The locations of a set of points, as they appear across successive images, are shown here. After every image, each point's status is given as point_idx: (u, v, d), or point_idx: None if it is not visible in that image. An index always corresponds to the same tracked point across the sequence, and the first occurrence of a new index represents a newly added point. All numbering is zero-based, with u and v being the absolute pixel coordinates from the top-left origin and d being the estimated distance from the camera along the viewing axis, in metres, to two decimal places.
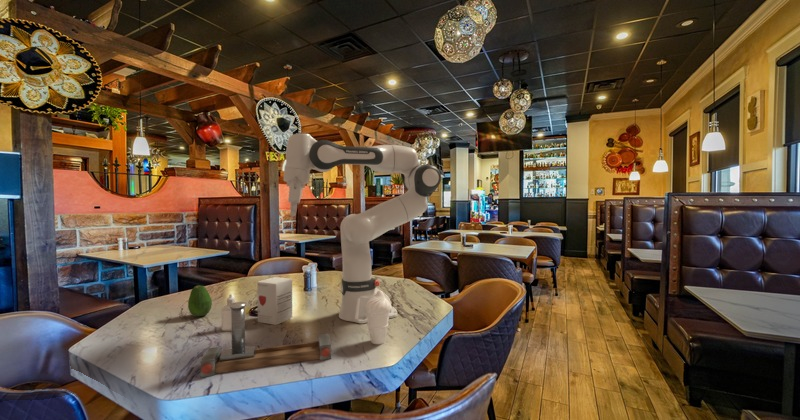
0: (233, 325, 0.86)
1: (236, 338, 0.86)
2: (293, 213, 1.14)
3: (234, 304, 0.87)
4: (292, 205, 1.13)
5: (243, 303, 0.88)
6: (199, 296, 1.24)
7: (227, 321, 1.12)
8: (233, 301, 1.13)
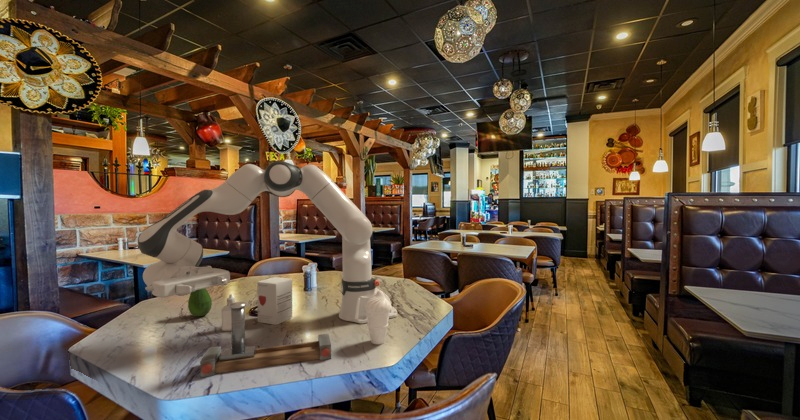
0: (233, 325, 0.86)
1: (236, 338, 0.86)
2: (187, 289, 0.89)
3: (234, 304, 0.87)
4: (177, 290, 0.89)
5: (243, 303, 0.88)
6: (199, 296, 1.24)
7: (227, 321, 1.12)
8: (233, 301, 1.13)
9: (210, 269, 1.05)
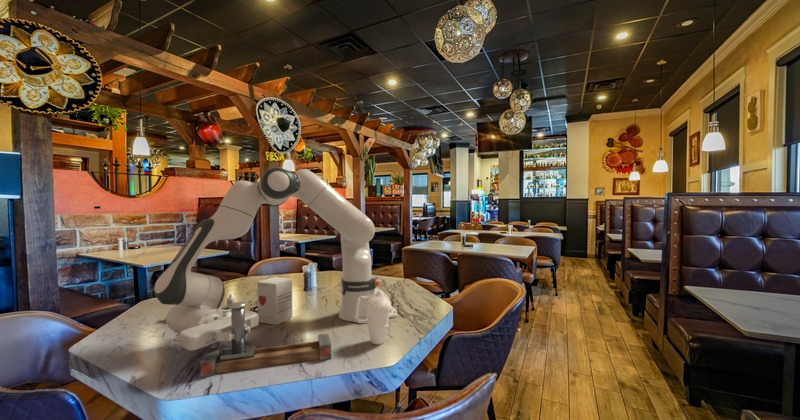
0: (233, 325, 0.86)
1: (236, 338, 0.86)
2: (227, 337, 0.85)
3: (234, 304, 0.87)
4: (217, 338, 0.85)
5: (243, 303, 0.88)
6: None
7: None
8: (233, 301, 1.13)
9: None
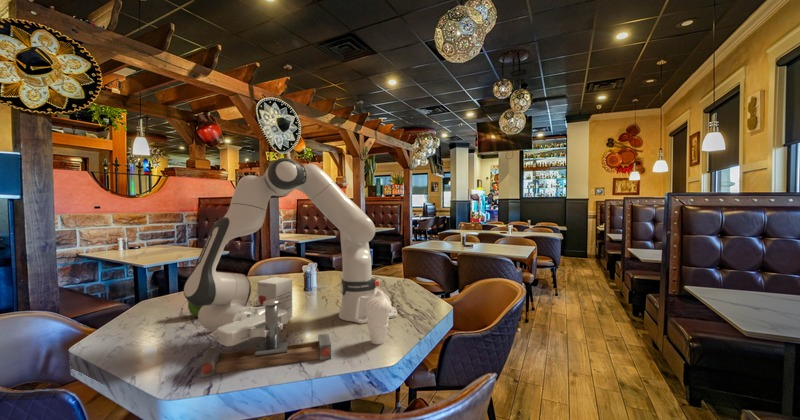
0: (267, 321, 0.89)
1: (270, 334, 0.89)
2: (262, 333, 0.88)
3: (268, 301, 0.90)
4: (252, 334, 0.88)
5: (276, 300, 0.91)
6: None
7: None
8: None
9: None
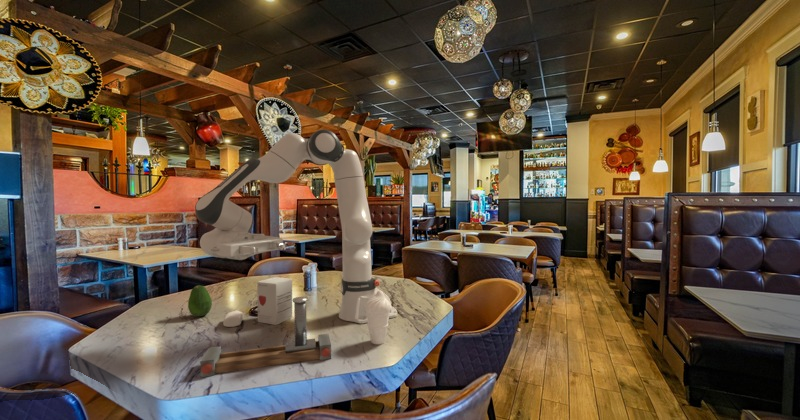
0: (297, 318, 0.91)
1: (299, 331, 0.91)
2: (251, 249, 0.93)
3: (297, 299, 0.92)
4: (242, 251, 0.94)
5: (305, 298, 0.93)
6: (199, 296, 1.24)
7: (230, 315, 1.18)
8: None
9: (264, 236, 1.09)
